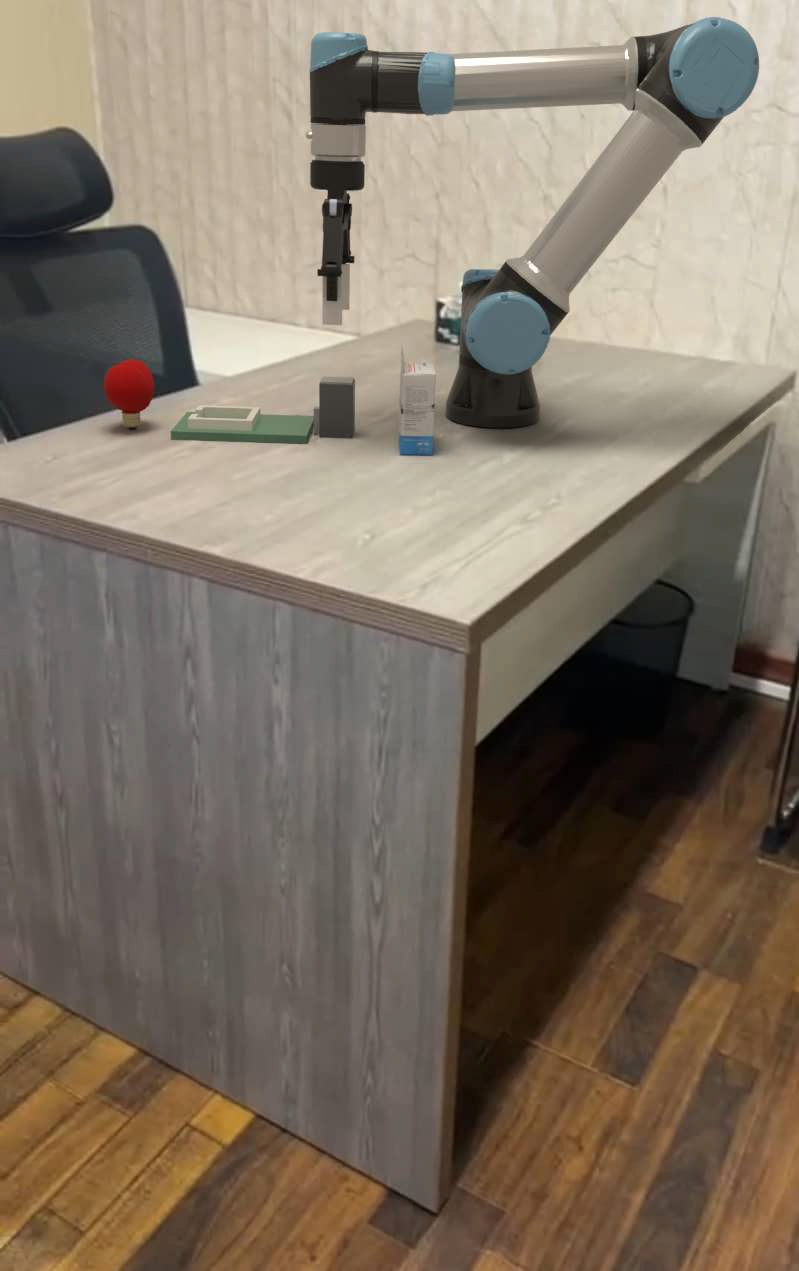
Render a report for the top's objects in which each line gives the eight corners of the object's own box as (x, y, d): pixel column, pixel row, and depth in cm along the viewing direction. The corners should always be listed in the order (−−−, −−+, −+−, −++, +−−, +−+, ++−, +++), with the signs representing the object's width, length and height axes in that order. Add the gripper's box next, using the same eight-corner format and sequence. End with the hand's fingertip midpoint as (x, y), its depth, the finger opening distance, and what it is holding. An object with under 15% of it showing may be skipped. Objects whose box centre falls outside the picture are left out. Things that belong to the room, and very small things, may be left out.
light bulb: (141, 438, 171) (137, 370, 167) (97, 435, 172) (91, 367, 168) (165, 423, 179) (161, 358, 175) (123, 420, 180) (118, 355, 176)
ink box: (434, 456, 166) (438, 352, 160) (399, 455, 166) (402, 351, 160) (430, 440, 174) (434, 340, 168) (397, 439, 174) (400, 340, 168)
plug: (354, 431, 178) (355, 377, 174) (352, 438, 174) (353, 383, 171) (315, 430, 178) (315, 375, 174) (312, 437, 174) (312, 381, 171)
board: (314, 423, 181) (314, 406, 180) (306, 443, 170) (306, 425, 169) (187, 419, 182) (186, 402, 181) (171, 439, 171) (170, 421, 170)
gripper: (319, 154, 171) (319, 302, 180) (300, 161, 149) (301, 330, 157) (370, 156, 171) (367, 304, 180) (358, 163, 148) (356, 332, 157)
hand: (336, 316), depth 169 cm, fingers open, 13 cm apart
